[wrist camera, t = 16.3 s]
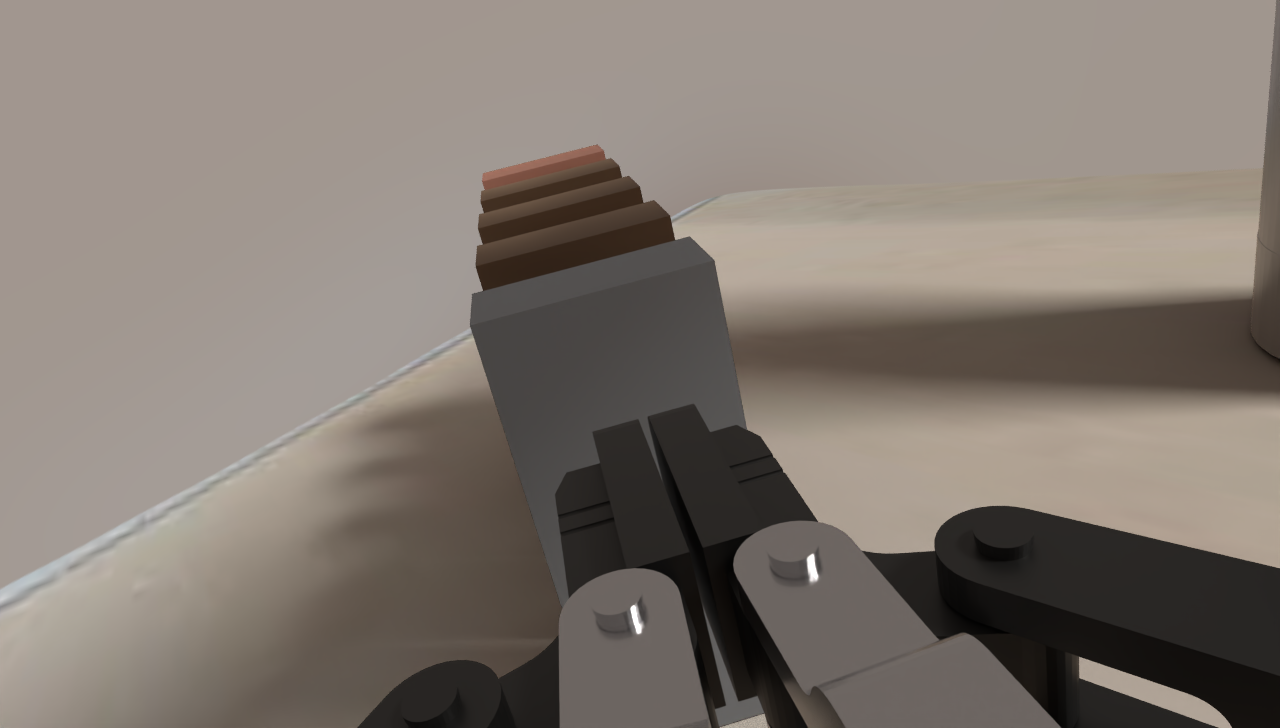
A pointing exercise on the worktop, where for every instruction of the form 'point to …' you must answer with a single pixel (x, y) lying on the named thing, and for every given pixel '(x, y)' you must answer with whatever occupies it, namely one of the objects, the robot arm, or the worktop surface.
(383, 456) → the worktop surface
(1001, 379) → the worktop surface
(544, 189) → the domino
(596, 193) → the domino
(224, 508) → the worktop surface
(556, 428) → the gray domino
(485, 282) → the domino
